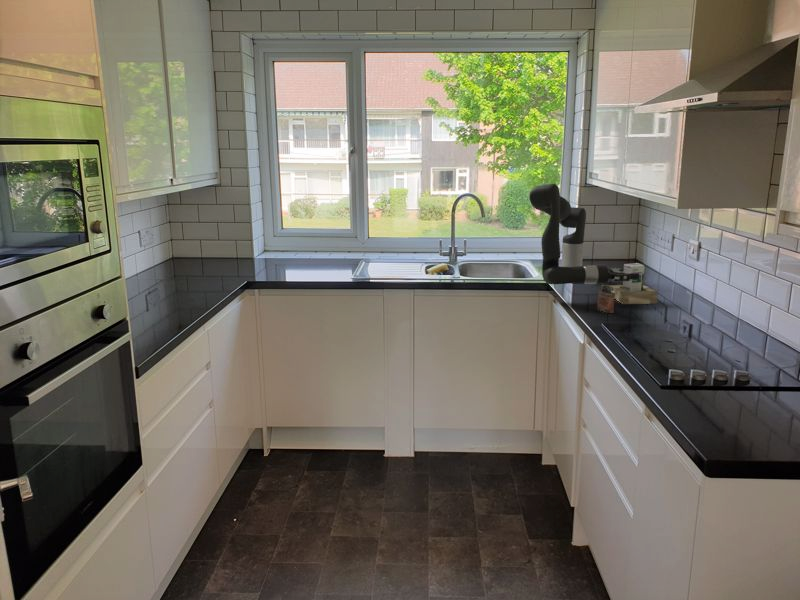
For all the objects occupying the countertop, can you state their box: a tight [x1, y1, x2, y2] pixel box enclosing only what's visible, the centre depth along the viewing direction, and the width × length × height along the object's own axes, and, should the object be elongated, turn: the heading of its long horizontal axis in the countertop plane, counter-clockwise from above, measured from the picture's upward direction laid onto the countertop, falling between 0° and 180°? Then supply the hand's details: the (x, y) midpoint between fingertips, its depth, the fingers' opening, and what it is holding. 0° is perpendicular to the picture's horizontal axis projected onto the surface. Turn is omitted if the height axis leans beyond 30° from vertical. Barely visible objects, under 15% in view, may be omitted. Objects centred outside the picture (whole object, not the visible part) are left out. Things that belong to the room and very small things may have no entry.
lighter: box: [596, 284, 615, 314], centre depth 235 cm, size 8×3×10 cm, turn 21°
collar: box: [609, 284, 659, 305], centre depth 252 cm, size 14×14×4 cm
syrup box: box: [622, 262, 645, 291], centre depth 251 cm, size 6×6×14 cm
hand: (634, 274), depth 251 cm, fingers open, 8 cm apart
